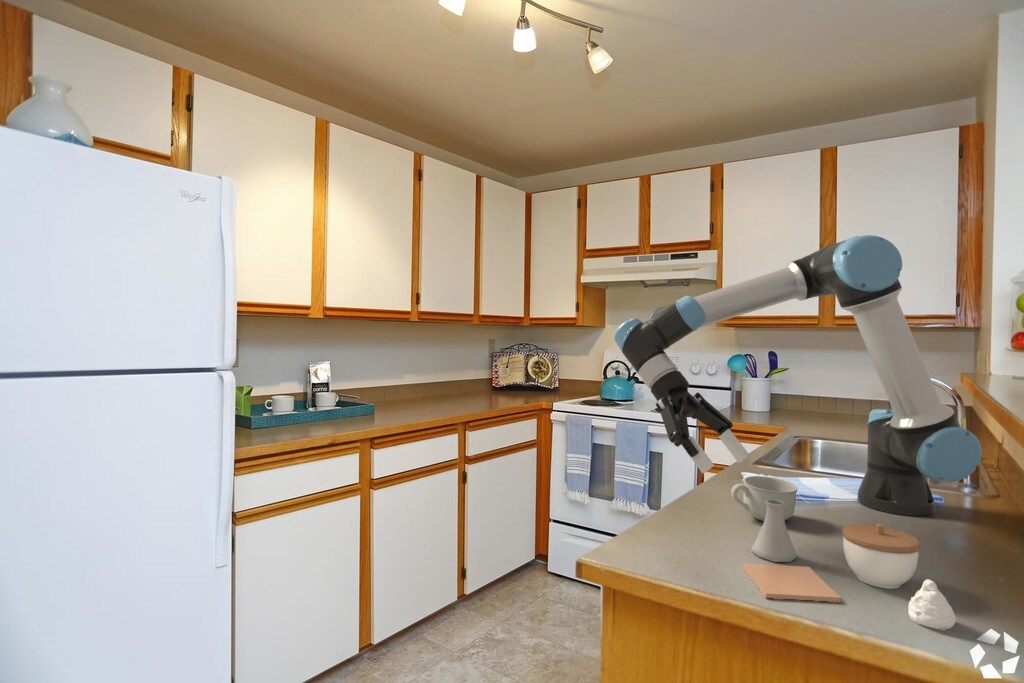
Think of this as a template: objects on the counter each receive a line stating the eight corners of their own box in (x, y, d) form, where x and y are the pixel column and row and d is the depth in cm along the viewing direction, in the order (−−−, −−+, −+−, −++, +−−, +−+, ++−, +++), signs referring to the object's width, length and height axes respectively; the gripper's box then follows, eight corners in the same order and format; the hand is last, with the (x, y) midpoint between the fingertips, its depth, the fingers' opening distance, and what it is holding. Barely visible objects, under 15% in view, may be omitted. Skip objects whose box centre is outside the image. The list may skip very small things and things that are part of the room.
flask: (743, 551, 106) (744, 498, 105) (772, 545, 108) (773, 494, 108) (775, 566, 99) (776, 509, 99) (804, 560, 102) (806, 505, 101)
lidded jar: (890, 601, 87) (892, 540, 87) (826, 572, 97) (828, 518, 96) (933, 588, 91) (935, 531, 91) (868, 563, 101) (870, 511, 101)
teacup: (785, 511, 129) (786, 476, 129) (804, 528, 118) (806, 490, 118) (722, 508, 130) (723, 474, 130) (736, 525, 119) (737, 487, 119)
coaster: (808, 571, 97) (809, 566, 97) (840, 602, 86) (840, 597, 86) (742, 568, 98) (742, 563, 98) (765, 598, 87) (765, 593, 87)
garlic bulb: (904, 570, 84) (948, 576, 82) (902, 610, 84) (946, 617, 82) (916, 585, 79) (963, 592, 77) (914, 628, 79) (961, 636, 77)
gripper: (685, 387, 131) (744, 465, 121) (616, 394, 115) (678, 485, 104) (707, 366, 127) (770, 445, 116) (639, 371, 111) (705, 462, 100)
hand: (727, 464), depth 110 cm, fingers open, 13 cm apart
